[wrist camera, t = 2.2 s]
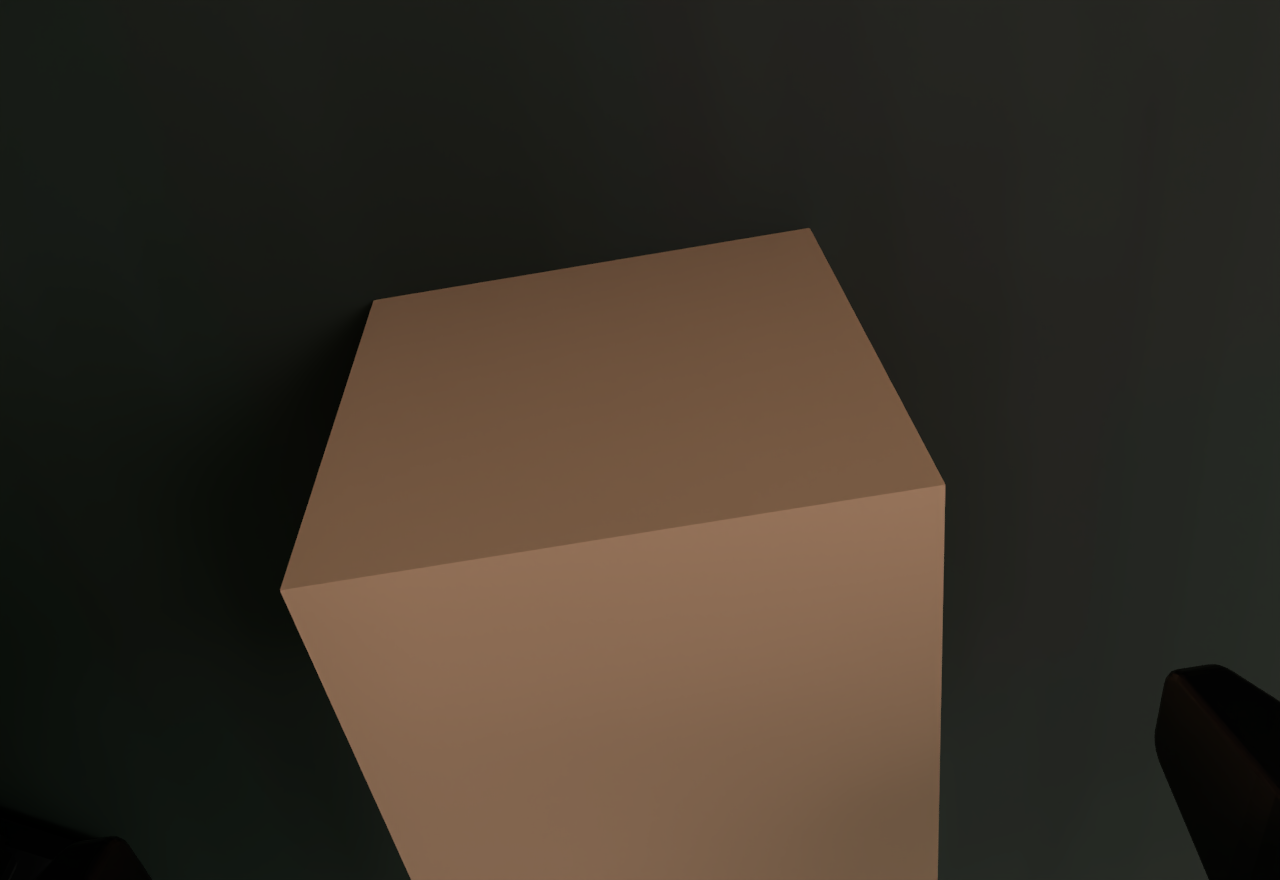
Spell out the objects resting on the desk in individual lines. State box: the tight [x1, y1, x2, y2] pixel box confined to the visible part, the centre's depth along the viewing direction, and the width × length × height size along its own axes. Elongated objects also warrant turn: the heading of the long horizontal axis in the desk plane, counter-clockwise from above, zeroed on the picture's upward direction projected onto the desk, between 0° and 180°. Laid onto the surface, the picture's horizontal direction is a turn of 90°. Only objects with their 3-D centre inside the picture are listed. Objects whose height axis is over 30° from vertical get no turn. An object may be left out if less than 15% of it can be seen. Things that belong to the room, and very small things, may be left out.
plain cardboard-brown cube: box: [280, 228, 945, 880], centre depth 11 cm, size 5×5×5 cm
